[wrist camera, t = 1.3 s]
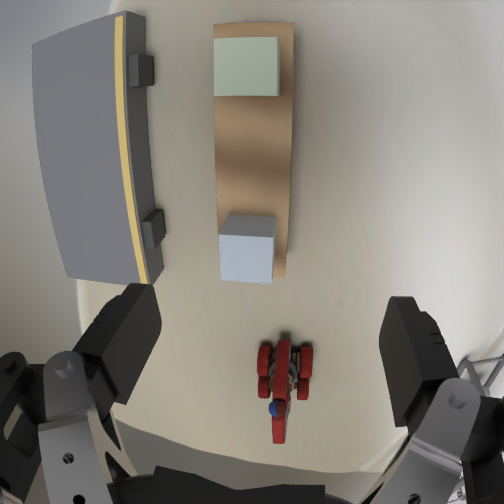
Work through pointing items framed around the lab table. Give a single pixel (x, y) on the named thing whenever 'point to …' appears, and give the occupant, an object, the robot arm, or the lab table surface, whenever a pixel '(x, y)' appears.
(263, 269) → the block
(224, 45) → the block
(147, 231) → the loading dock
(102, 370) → the robot arm
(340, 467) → the lab table surface
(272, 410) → the toy fire truck
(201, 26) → the lab table surface
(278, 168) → the tan wooden bar
